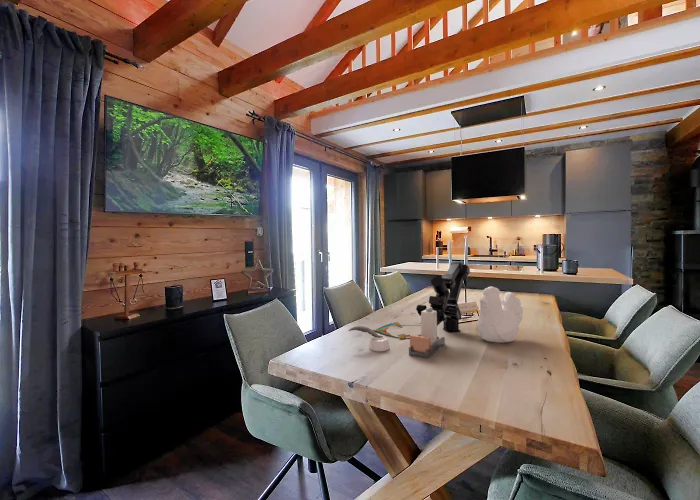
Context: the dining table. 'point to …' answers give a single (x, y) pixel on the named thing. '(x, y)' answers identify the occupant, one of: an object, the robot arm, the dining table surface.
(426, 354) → the rail
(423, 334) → the block
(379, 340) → the inkwell
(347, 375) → the dining table surface
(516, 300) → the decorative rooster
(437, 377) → the dining table surface
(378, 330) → the ribbon cable
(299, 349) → the dining table surface
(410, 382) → the dining table surface
